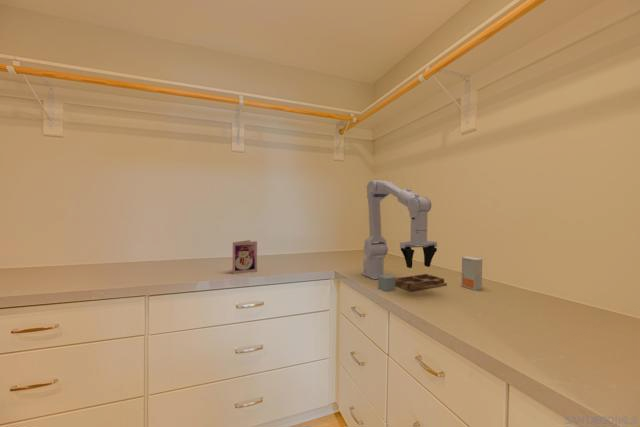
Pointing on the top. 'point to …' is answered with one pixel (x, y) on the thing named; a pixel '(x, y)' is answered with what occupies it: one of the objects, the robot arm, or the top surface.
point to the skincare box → (472, 273)
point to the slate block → (386, 283)
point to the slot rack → (419, 282)
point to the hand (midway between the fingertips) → (418, 267)
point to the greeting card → (244, 257)
